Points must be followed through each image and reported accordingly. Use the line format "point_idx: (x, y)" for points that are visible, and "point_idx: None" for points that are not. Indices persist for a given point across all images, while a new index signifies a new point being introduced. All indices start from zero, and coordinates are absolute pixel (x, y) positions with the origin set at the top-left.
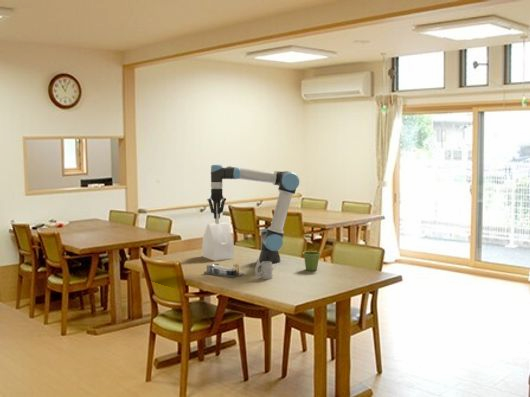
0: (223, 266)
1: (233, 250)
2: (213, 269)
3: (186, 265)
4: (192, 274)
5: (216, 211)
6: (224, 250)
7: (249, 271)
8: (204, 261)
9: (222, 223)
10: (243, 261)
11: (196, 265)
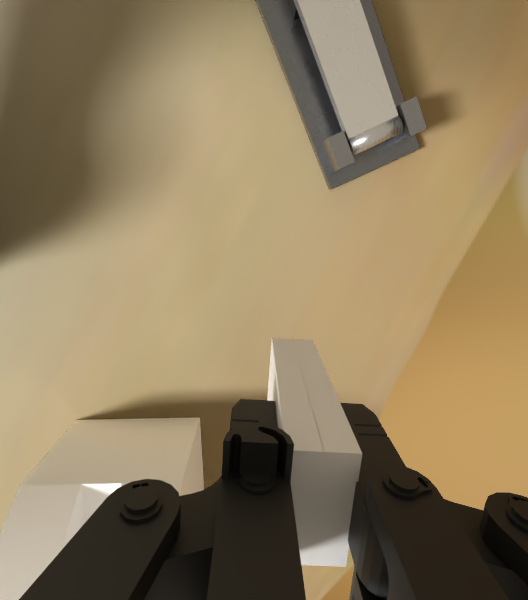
0: (332, 57)
1: (53, 448)
2: (341, 175)
3: (389, 387)
4: (485, 160)
5: (398, 537)
6: (118, 451)
7: (152, 33)
8: None
9: None
10: (59, 319)
11: (345, 361)
